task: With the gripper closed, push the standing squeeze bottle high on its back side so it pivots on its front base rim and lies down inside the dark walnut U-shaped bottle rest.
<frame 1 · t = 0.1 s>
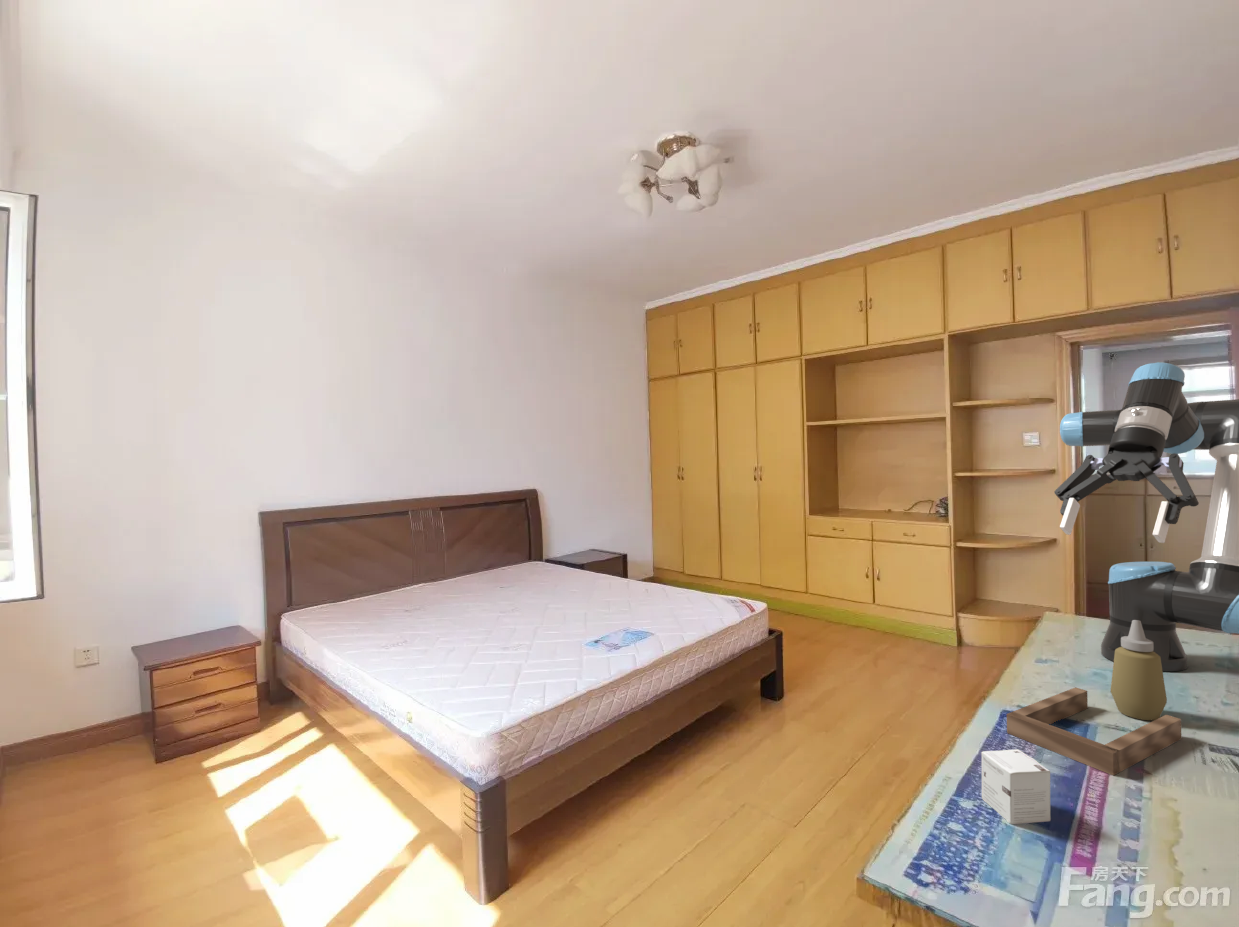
hand: (1108, 534, 102), 36 cm above the table, tool tilted 35°, fingers open, 13 cm apart
squeeze bottle: (1138, 715, 110), on the table
skincare box: (1015, 811, 83), on the table
bottle rest: (1094, 735, 103), on the table
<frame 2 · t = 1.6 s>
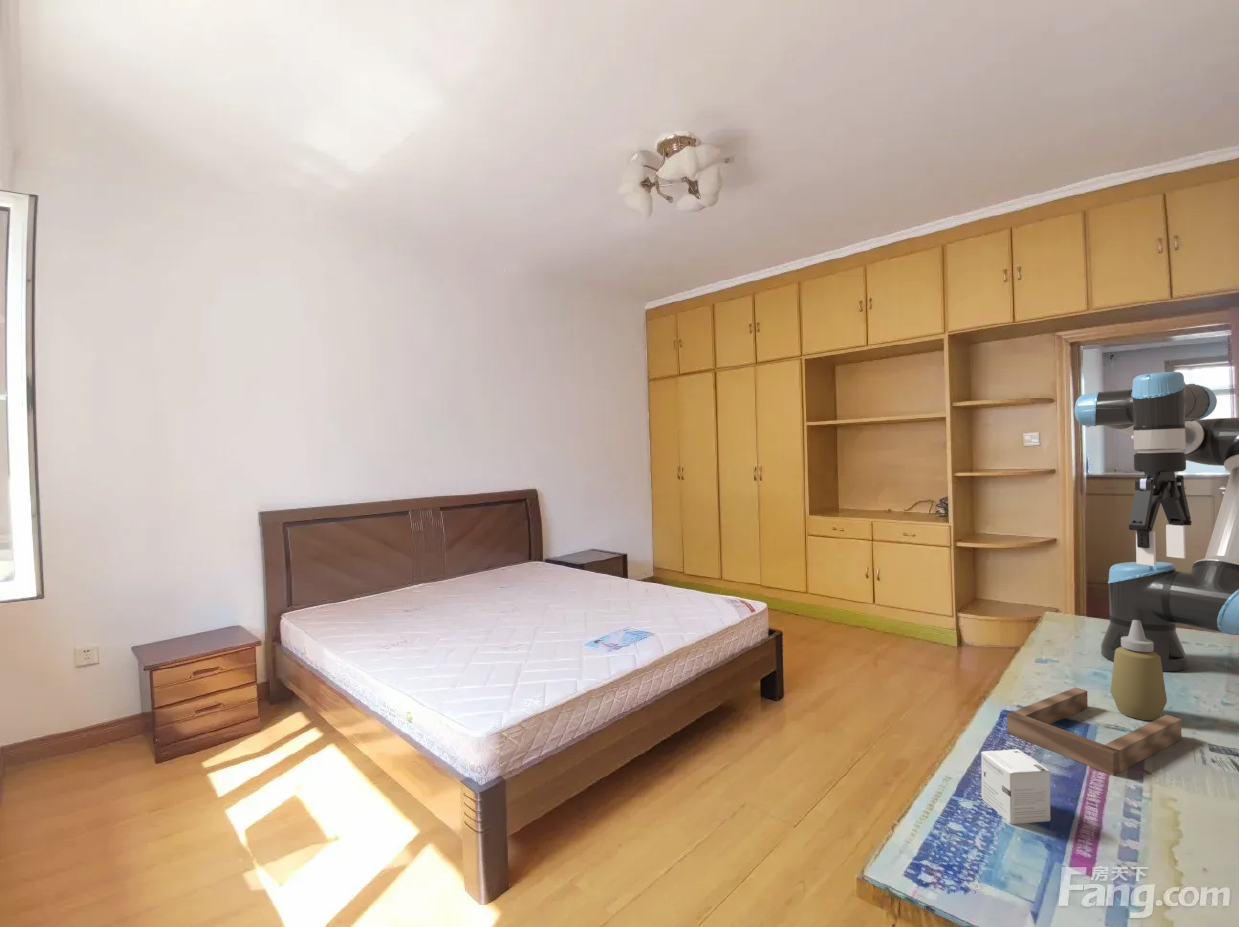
hand: (1161, 560, 114), 28 cm above the table, tool pointing down, fingers open, 12 cm apart
nothing on the table moved.
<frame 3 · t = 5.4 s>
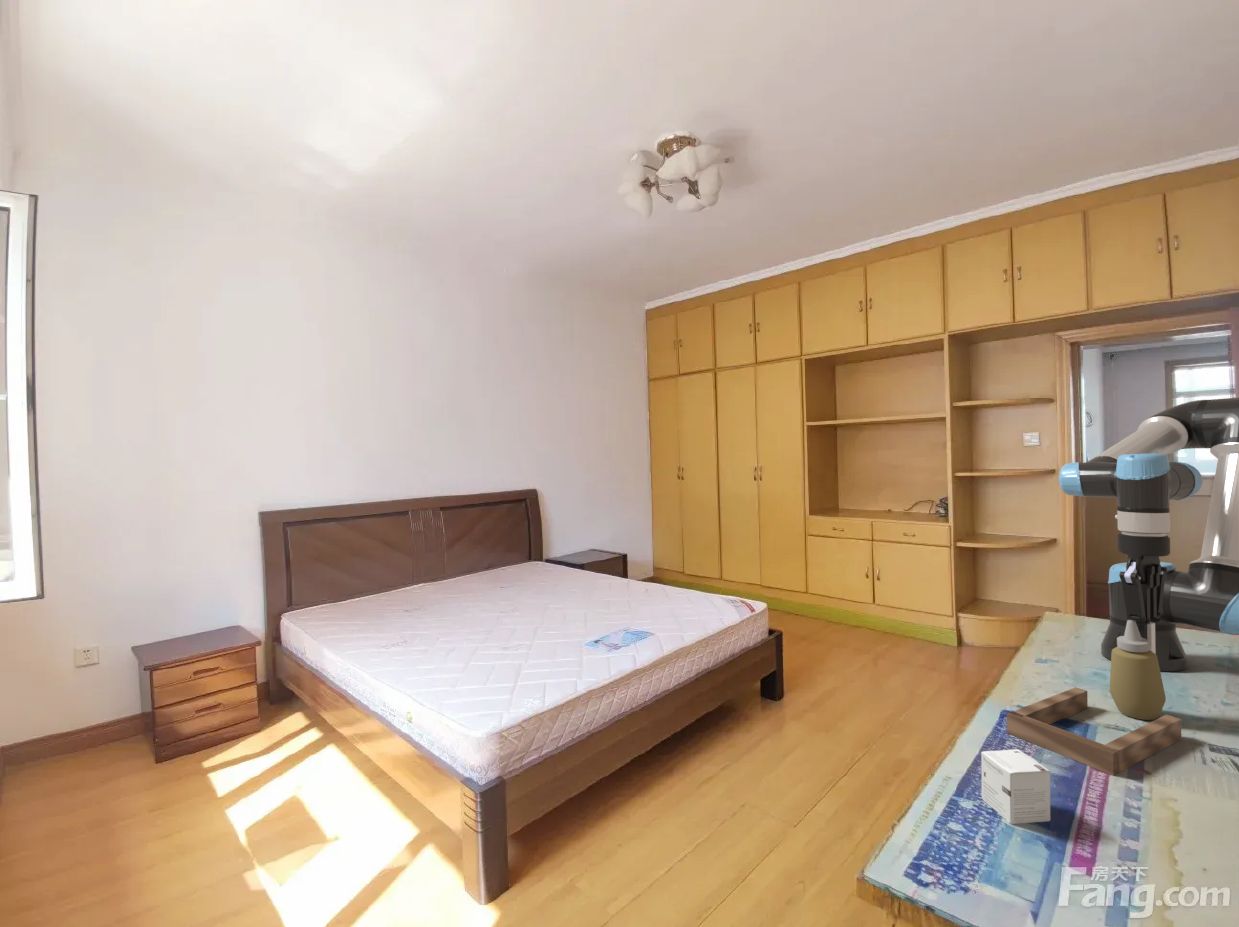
hand: (1144, 655, 111), 11 cm above the table, tool pointing down, fingers closed
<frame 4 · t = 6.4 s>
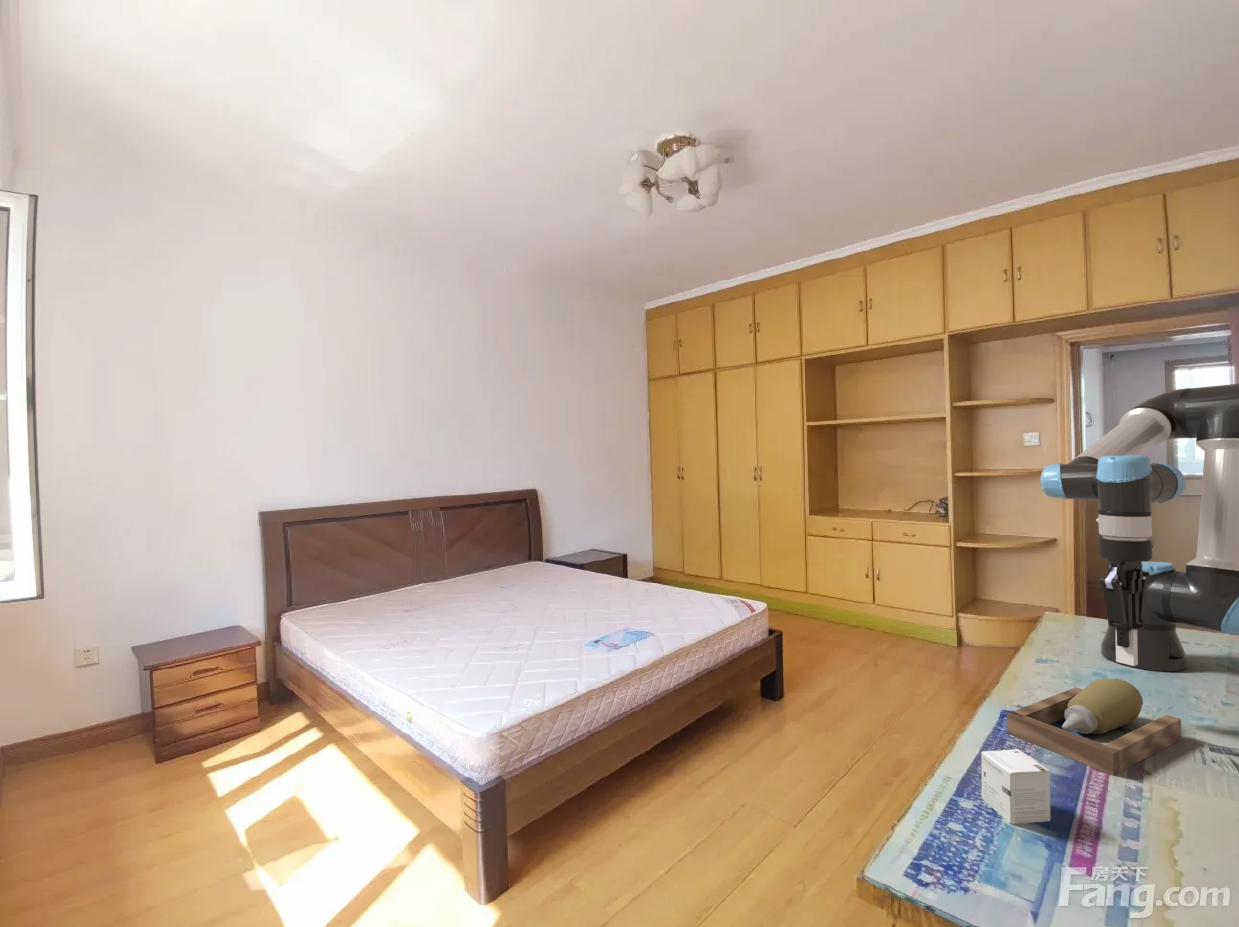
hand: (1126, 662, 108), 11 cm above the table, tool pointing down, fingers closed
squeeze bottle: (1125, 693, 109), point 5 cm above the table
everything else where it was.
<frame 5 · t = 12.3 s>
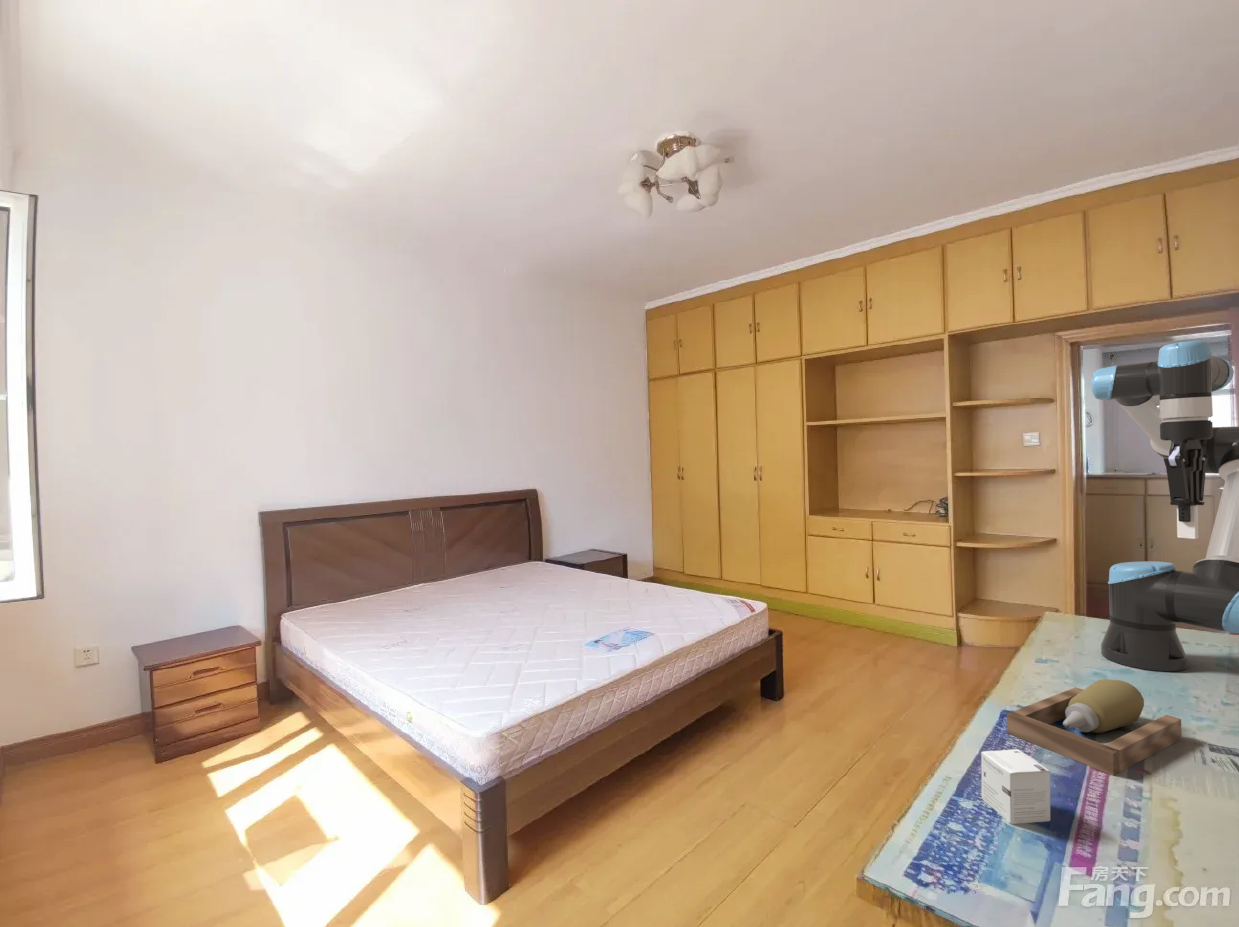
hand: (1187, 537, 116), 32 cm above the table, tool pointing down, fingers closed
nothing on the table moved.
at the end: squeeze bottle tilted 95°; squeeze bottle 12.4 cm from the bottle rest (horizontally); squeeze bottle point 4.3 cm above the table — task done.
